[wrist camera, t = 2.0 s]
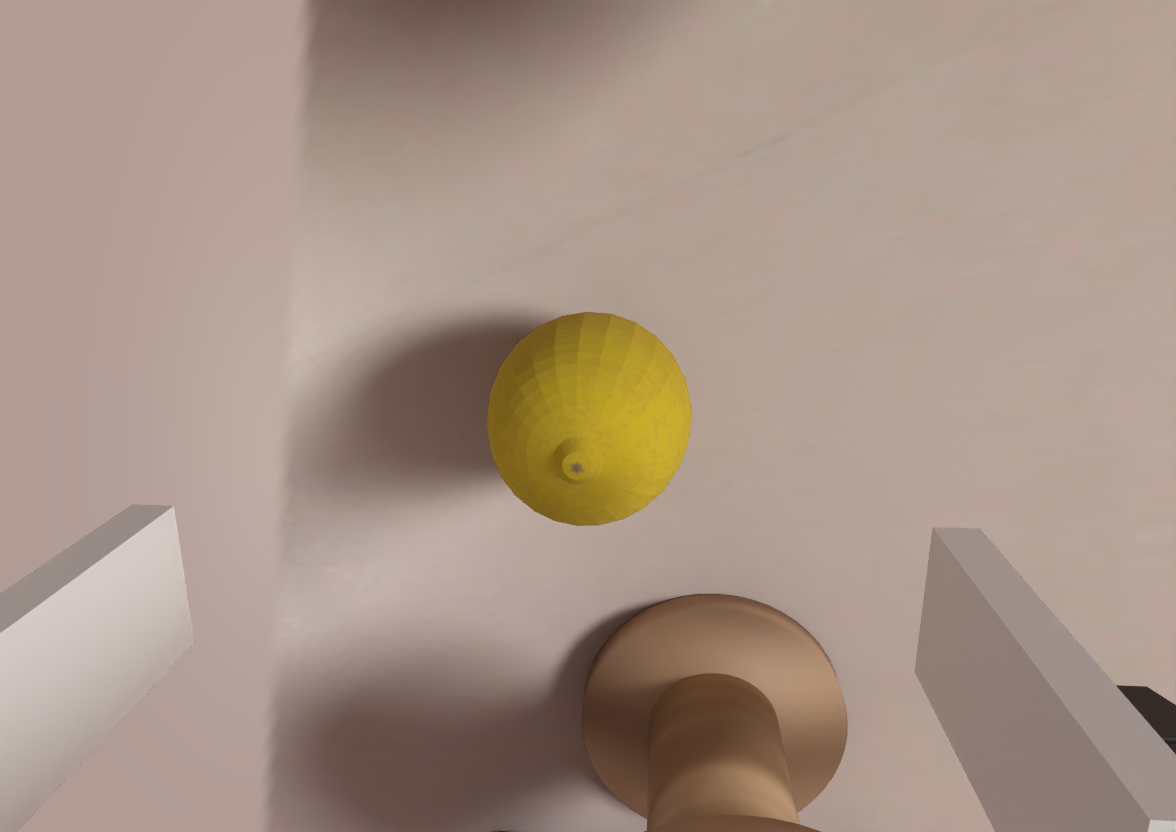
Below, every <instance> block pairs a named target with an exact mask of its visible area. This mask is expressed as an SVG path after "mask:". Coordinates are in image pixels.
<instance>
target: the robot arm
mask: <svg viewBox="0 0 1176 832" xmlns="http://www.w3.org/2000/svg"><path fill="white" fill-rule="evenodd" d="M194 643H195V642H194V636H193V630H192V623H191V617H190V609H189V603H188V596H187V590H186V583H185V576H184V570H183V563H182V556H181V550H180V543H179V536H178V530H177V523H176V517H175V511H174V506H157V505H131V506H130V507H128V508H127V509H125V510H124V511H122V512H121V513H119V514H118V515H116V516H115V517H113V518H112V519H110V520H109V521H108V522H106V523H105V524H103V525H102V526H100V527H99V528H97V529H96V530H94V531H93V532H91V533H90V534H88V535H87V536H85V537H84V538H82V539H81V540H79V541H78V542H76V543H75V544H73V545H72V546H70V547H69V548H68V549H66V550H64V551H63V552H62V553H60V554H59V555H57V556H56V557H54V558H53V559H51V560H50V561H48V562H47V563H45V564H44V565H42V566H41V567H39V568H38V569H36V570H35V571H33V572H32V573H30V574H29V575H27V576H26V577H24V578H23V579H21V580H20V581H18V582H17V583H15V584H14V585H13V586H11V587H10V588H8V589H7V590H5V591H4V592H2V593H1V594H0V832H17V831H18V830H19V829H20V828H21V827H22V826H23V825H24V824H25V823H26V822H27V821H28V820H29V818H31V817H32V815H33V814H34V813H35V812H36V811H37V810H38V809H39V808H40V807H41V806H42V805H43V804H44V803H45V802H46V801H47V799H48V798H49V797H50V796H51V795H52V794H53V793H54V792H55V791H56V790H57V789H58V788H59V787H60V786H61V785H62V784H63V782H64V781H65V780H66V779H67V778H68V777H69V776H70V775H71V774H72V773H73V772H74V771H75V770H76V769H77V767H78V766H79V765H80V764H81V763H82V762H83V761H84V760H85V759H86V758H87V757H88V756H89V755H90V754H91V753H92V752H93V750H94V749H95V748H96V747H97V746H98V745H99V744H100V743H101V742H102V741H103V740H104V739H105V738H106V737H107V736H108V735H109V733H110V732H111V731H112V730H113V729H114V728H115V727H116V726H117V725H118V724H119V723H120V722H121V720H123V719H124V717H125V716H126V715H127V714H128V713H129V712H130V711H131V710H132V709H133V708H134V707H135V706H136V705H137V704H138V702H139V701H140V700H141V699H142V698H143V697H144V696H145V695H146V694H147V693H148V692H149V691H150V690H151V689H152V688H153V686H155V684H156V683H157V682H158V681H159V680H160V679H161V678H162V677H163V676H164V675H165V673H167V671H169V670H170V668H171V667H172V666H173V665H174V664H175V663H176V662H177V661H178V660H179V659H180V658H181V657H182V656H183V655H184V654H185V652H186V651H187V650H188V649H189V648H190V647H191V646H192V645H193V644H194ZM915 673H916V675H917V677H918V679H919V681H920V683H921V685H922V687H923V689H924V691H925V693H926V695H927V697H928V699H929V701H930V703H931V705H932V707H933V709H934V711H935V713H936V715H937V717H938V719H939V721H940V723H941V725H942V727H943V729H944V731H945V733H946V735H947V737H948V739H949V741H950V743H951V745H952V747H953V749H954V751H955V753H956V755H957V757H958V759H959V761H960V763H961V765H962V767H963V769H964V771H965V773H966V775H967V777H968V779H969V780H970V782H971V784H972V786H973V788H974V790H975V792H976V794H977V796H978V798H979V800H980V802H981V804H982V806H983V808H984V810H985V812H986V814H987V816H988V818H989V820H990V822H991V824H992V826H993V828H994V830H995V832H1176V705H1175V704H1173V703H1172V702H1170V701H1168V700H1167V699H1165V698H1164V697H1162V696H1161V695H1159V694H1157V693H1156V692H1154V691H1153V690H1151V689H1149V688H1148V687H1141V686H1116V685H1115V684H1114V683H1113V682H1112V680H1111V679H1110V678H1109V677H1108V676H1107V675H1106V674H1105V672H1104V671H1103V670H1102V669H1101V668H1100V667H1099V665H1098V664H1097V663H1096V662H1095V661H1094V660H1093V659H1092V657H1091V656H1090V655H1089V654H1088V653H1087V652H1086V650H1085V649H1084V648H1083V647H1082V646H1081V645H1080V644H1079V642H1078V641H1077V640H1076V639H1075V638H1074V637H1073V636H1072V634H1071V633H1070V632H1069V631H1068V630H1067V629H1066V627H1065V626H1064V625H1063V624H1062V623H1061V622H1060V621H1059V619H1058V618H1057V617H1056V616H1055V615H1054V614H1053V612H1052V611H1051V610H1050V609H1049V608H1048V607H1047V606H1046V604H1045V603H1044V602H1043V601H1042V600H1041V599H1040V597H1039V596H1038V595H1037V594H1036V593H1035V592H1034V591H1033V589H1032V588H1031V587H1030V586H1029V585H1028V584H1027V582H1026V581H1025V580H1024V579H1023V578H1022V577H1021V576H1020V574H1019V573H1018V572H1017V571H1016V570H1015V569H1014V568H1013V566H1012V565H1011V564H1010V563H1009V562H1008V561H1007V559H1006V558H1005V557H1004V556H1003V555H1002V554H1001V553H1000V551H999V550H998V549H997V548H996V547H995V546H994V544H993V543H992V542H991V541H990V540H989V539H988V538H987V536H986V535H985V534H984V533H983V532H982V531H981V529H971V528H935V527H933V528H932V536H931V544H930V552H929V561H928V569H927V577H926V585H925V593H924V601H923V609H922V617H921V625H920V633H919V641H918V649H917V657H916V665H915Z"/></svg>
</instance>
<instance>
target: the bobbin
mask: <svg viewBox="0 0 1176 832" xmlns="http://www.w3.org/2000/svg"><path fill="white" fill-rule="evenodd" d="M847 726H848V720H847V712H846V705H845V702H844V698H843V695H842V692H841V689H840V686H839V683H838V680H837V677H836V674H835V671H834V669H833V666H832V664H831V662H830V660H829V658H828V656H827V655H826V653H825V652H824V650H823V649H822V647H821V646H820V644H819V643H818V642H817V641H816V639H815V638H814V637H813V636H812V635H811V634H810V633H809V632H808V631H807V630H806V629H805V628H804V627H802V626H801V625H800V624H799V623H798V622H797V621H795V620H793V619H792V618H790V617H789V616H787V615H786V614H784V613H783V612H781V611H779V610H777V609H774V608H772V607H770V606H768V605H766V604H763V603H760V602H757V601H754V600H751V599H747V598H742V597H737V596H731V595H720V594H699V595H692V596H685V597H680V598H676V599H672V600H668V601H665V602H662V603H660V604H657V605H655V606H652V607H650V608H648V609H646V610H644V611H642V612H641V613H639V614H637V615H635V616H634V617H632V618H631V619H630V620H628V621H627V622H626V623H624V624H623V625H622V626H621V627H620V628H619V629H617V630H616V631H615V632H614V633H613V634H612V635H611V636H610V638H609V639H608V640H607V641H606V643H605V644H604V645H603V647H602V648H601V650H600V651H599V653H598V655H597V657H596V658H595V660H594V663H593V665H592V668H591V670H590V673H589V676H588V681H587V685H586V691H585V699H584V706H583V718H582V727H583V738H584V742H585V746H586V750H587V753H588V756H589V758H590V761H591V763H592V765H593V767H594V769H595V771H596V772H597V774H598V776H599V778H600V779H601V780H602V781H603V783H604V784H605V785H606V787H607V788H608V789H609V790H610V791H611V792H612V793H613V794H614V795H615V796H616V797H617V798H618V799H619V800H620V801H621V802H622V803H624V804H625V805H626V806H627V807H629V808H630V809H631V810H633V811H634V812H636V813H638V814H639V815H641V816H643V817H644V818H646V819H647V831H645V832H820V831H817V830H814V829H811V828H808V827H805V826H802V825H799V820H798V816H797V812H799V811H800V810H802V809H803V808H804V807H805V806H807V805H808V804H809V803H810V802H812V801H813V800H814V799H815V798H816V797H817V796H818V795H819V794H820V793H821V792H822V791H823V790H824V788H825V787H826V786H827V784H828V783H829V781H830V780H831V779H832V777H833V776H834V774H835V772H836V770H837V768H838V766H839V764H840V762H841V759H842V756H843V753H844V750H845V745H846V739H847Z"/></svg>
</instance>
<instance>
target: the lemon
mask: <svg viewBox="0 0 1176 832" xmlns="http://www.w3.org/2000/svg"><path fill="white" fill-rule="evenodd" d="M690 426H691V403H690V398H689V393H688V388H687V384H686V379H685V377H684V375H683V373H682V371H681V370H680V368H679V366H678V364H677V362H676V360H675V358H674V356H673V355H672V353H671V352H670V351H669V350H668V349H667V348H666V347H665V346H664V345H663V343H662V342H661V341H660V340H659V339H658V338H657V337H656V336H655V335H653V334H652V333H650V332H649V331H647V330H646V329H644V328H643V327H641V326H640V325H638V324H637V323H635V322H633V321H630V320H627V319H625V318H622V317H619V316H616V315H613V314H605V313H593V312H585V313H578V314H572V315H566V316H561V317H559V318H557V319H554V320H552V321H550V322H548V323H545V324H543V325H541V326H539V327H537V328H536V329H535V330H534V331H532V332H531V333H530V334H529V335H527V336H526V337H525V338H524V339H522V340H521V341H520V342H519V343H518V344H517V345H516V346H515V347H514V349H513V350H512V351H511V353H510V354H509V355H508V357H507V358H506V359H505V361H504V362H503V363H502V365H501V366H500V368H499V371H498V373H497V376H496V379H495V381H494V384H493V386H492V389H491V391H490V395H489V403H488V413H487V431H488V437H489V444H490V450H491V454H492V457H493V459H494V461H495V464H496V466H497V468H498V470H499V473H500V475H501V477H502V479H503V480H504V481H505V483H506V484H507V485H508V486H509V488H510V489H511V490H512V492H513V493H514V494H515V496H517V497H518V498H519V499H520V500H521V501H523V502H524V503H525V504H526V505H528V506H529V507H530V508H531V509H533V510H534V511H535V512H537V513H539V514H542V515H544V516H546V517H548V518H550V519H552V520H554V521H558V522H562V523H567V524H572V525H576V526H583V525H602V524H606V523H610V522H614V521H618V520H622V519H624V518H626V517H628V516H630V515H632V514H634V513H636V512H638V511H639V510H641V509H643V508H644V507H646V506H647V505H648V504H649V503H650V502H651V501H652V500H653V499H655V498H656V497H657V496H658V495H659V494H660V493H661V492H662V491H663V490H664V489H665V488H666V486H667V485H668V483H669V482H670V480H671V479H672V477H673V476H674V474H675V473H676V471H677V470H678V468H679V467H680V465H681V463H682V459H683V456H684V453H685V450H686V447H687V444H688V441H689V437H690Z"/></svg>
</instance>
